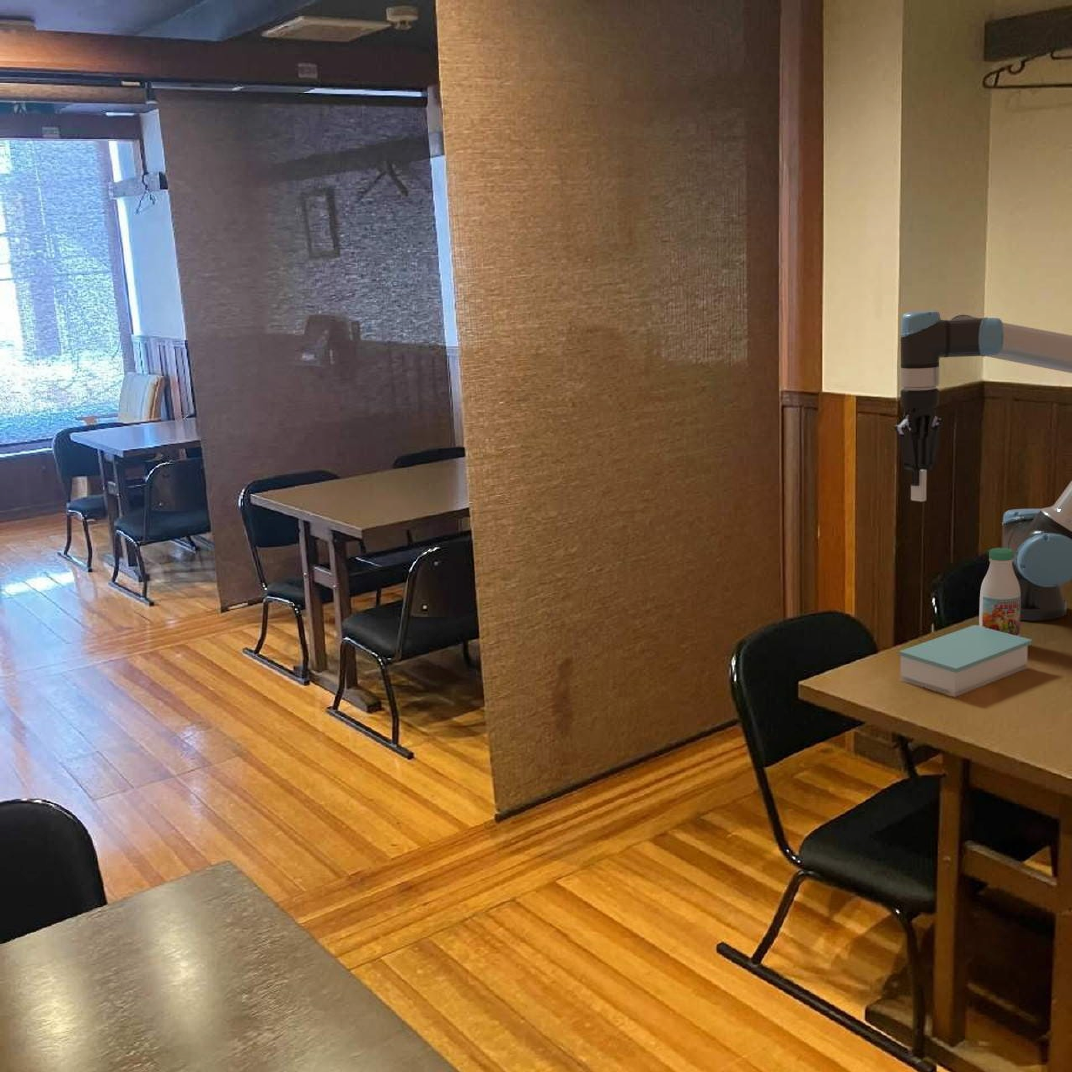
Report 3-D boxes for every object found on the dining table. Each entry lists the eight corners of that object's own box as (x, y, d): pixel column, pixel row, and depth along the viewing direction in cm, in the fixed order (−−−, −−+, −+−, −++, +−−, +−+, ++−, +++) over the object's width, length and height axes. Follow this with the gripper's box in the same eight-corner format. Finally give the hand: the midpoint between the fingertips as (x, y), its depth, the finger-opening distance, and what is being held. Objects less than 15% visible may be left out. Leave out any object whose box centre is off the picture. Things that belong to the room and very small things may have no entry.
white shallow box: (972, 653, 230) (973, 630, 229) (1026, 668, 221) (1027, 643, 219) (900, 680, 219) (900, 655, 218) (954, 697, 209) (954, 671, 208)
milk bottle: (970, 643, 237) (972, 549, 232) (998, 636, 240) (1000, 543, 235) (999, 653, 230) (1002, 556, 225) (1027, 646, 233) (1031, 550, 228)
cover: (974, 628, 229) (974, 624, 229) (1032, 643, 219) (1032, 639, 219) (898, 655, 217) (899, 651, 217) (956, 672, 207) (956, 668, 207)
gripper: (924, 383, 243) (923, 493, 248) (883, 390, 236) (883, 503, 241) (955, 385, 236) (953, 497, 242) (914, 392, 229) (913, 507, 235)
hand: (918, 500), depth 241 cm, fingers closed
